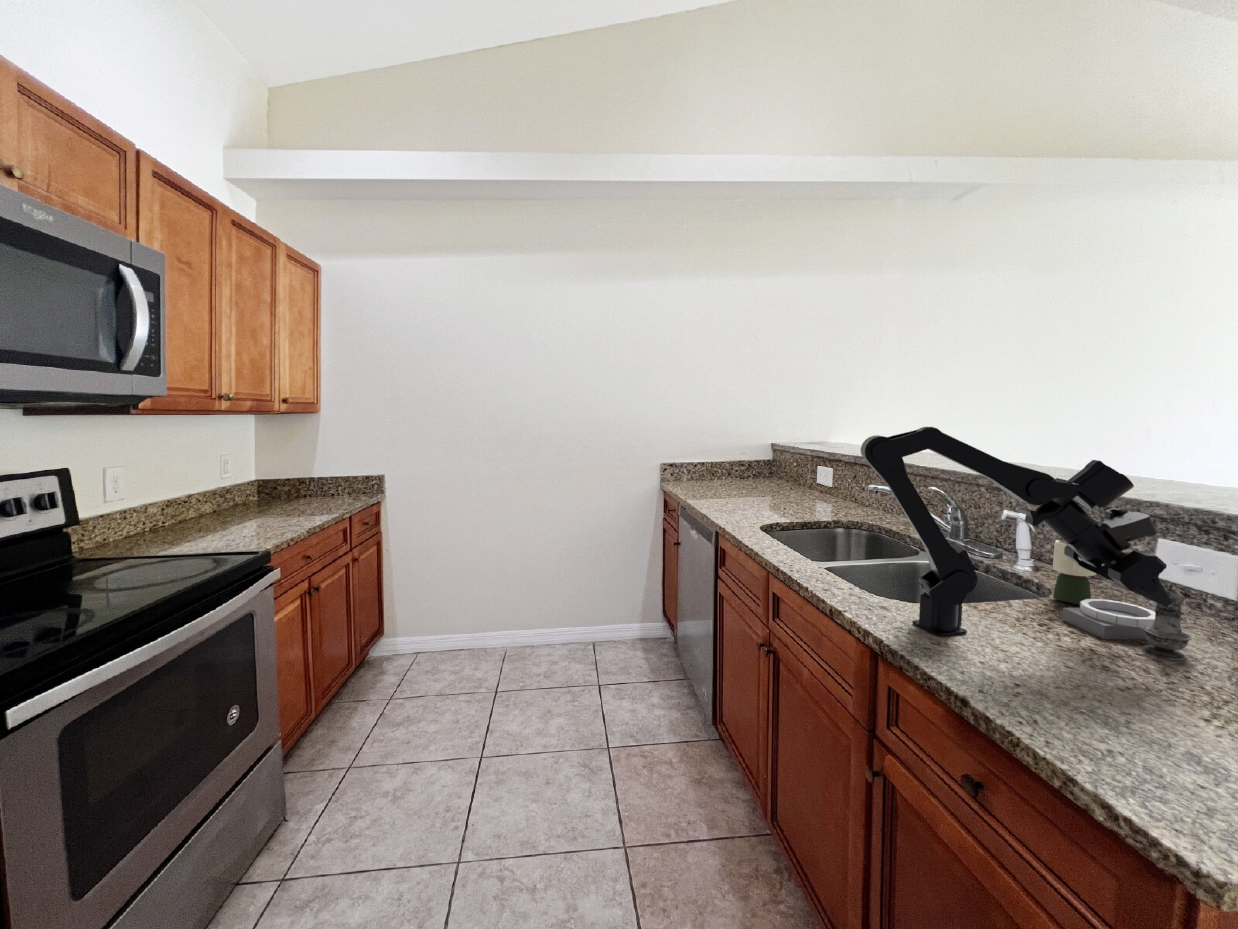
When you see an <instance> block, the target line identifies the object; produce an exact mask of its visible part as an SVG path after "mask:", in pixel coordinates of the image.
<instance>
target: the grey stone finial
mask: <svg viewBox="0 0 1238 929" xmlns="http://www.w3.org/2000/svg"><path fill="white" fill-rule="evenodd" d="M1174 587H1175V586H1174V585H1173V584H1172V583H1169V585H1168V587H1166V588H1164V589H1165V591H1166V593H1167V594H1168V596H1169V598H1170V599H1171V601H1172V604H1170V605H1169V606H1167V607H1166V606H1163V605H1161V604H1159V603H1156V606H1154V607H1153V611H1154V612H1155V621H1154V623H1153V625H1151V626H1144V627H1142V630H1143V631H1144V635H1145V638H1146V639H1145V640H1146V641H1147V642H1148V643H1149V644H1148V645H1143V646H1142V648H1141V649H1142V650H1143V651H1144V650H1145V651H1144V652H1146V653H1147V654H1150V655H1153V656H1155V657H1159V658H1163V659H1167V660H1172V661H1173V660H1174V661H1185V660H1187V659H1188V657H1187V655H1185V654H1184V653H1183V652H1182V651H1180V650H1183V649H1185V648H1186V647H1187V646H1188V644H1189V641H1191V640H1192V636H1191V635H1190V634H1188V633H1186V632H1184V631H1182V627H1181V617H1182V616H1183V615H1184V614H1185V612H1183V611H1182V602H1183V601H1182V600H1183V595H1182V593H1181V592H1180V591H1178V590H1176V589H1174Z"/></svg>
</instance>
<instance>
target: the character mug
mask: <svg viewBox="0 0 1238 929" xmlns="http://www.w3.org/2000/svg"><path fill="white" fill-rule="evenodd" d="M1066 546H1067V545H1065V544H1063V543H1062V542H1061V541H1060V540H1059V539H1056V540H1055V541H1054V548H1053V558H1052V560H1053V561H1052V569H1053V570H1054V571H1055V572H1058V573H1059V574H1058V575H1057V578H1056V582H1055V585H1054V590H1053V594H1052V597H1053V599H1055V600H1057V601H1061V602H1066V603H1070V605H1071V604H1072V606H1073V605H1075V604H1076V605H1079V606H1080V601H1083V600H1085V599H1092V593H1091V583H1090V579H1089V577H1093V576H1096V575H1097V574H1096V573H1094V572H1092V571H1090V570H1087V569H1085V568H1083V567H1081V566H1079V565H1078V564H1076V563H1074V562H1072V561H1071V560H1070V559H1069V558H1068V557H1067V556H1066V555H1065V554H1064V548H1065V547H1066ZM1078 559H1079V558H1078ZM1079 560H1080V559H1079ZM1080 561H1081V560H1080Z"/></svg>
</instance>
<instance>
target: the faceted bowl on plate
mask: <svg viewBox="0 0 1238 929" xmlns="http://www.w3.org/2000/svg"><path fill="white" fill-rule="evenodd" d="M1155 613H1156V611H1155V610H1151V609H1149V608H1146V607H1143V606H1141V605H1137V604H1132V603H1128V602H1125V601H1124V602H1123V601H1117V600H1110V599H1104V598H1103V599H1101V598H1091V599H1085V600H1083V601H1080V605H1079V607H1063V608H1062V618H1061V621H1063V622H1065V623H1067V624H1070V625H1071V626H1074V627H1076V628H1079V629H1081V630H1083V631H1085V632H1088V633H1089V634H1091V635H1094V636H1096V637H1098V638H1100V639H1102V640H1147V639H1146V638H1145V635H1144V631H1143V630H1142V627H1144V626H1151V625H1153V623H1154V621H1155Z"/></svg>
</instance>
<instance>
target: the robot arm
mask: <svg viewBox="0 0 1238 929" xmlns="http://www.w3.org/2000/svg"><path fill="white" fill-rule="evenodd" d="M927 450H929V451H931V452H933V453H935V454H937V455H940V456H941V457H944V458H946V459H947V460H949V461H951V462H954V463H956V464H958V465H960V466H962V467H964V468H966V469H969V470H970V471H971V472H975V473H977V474H979V475H981V476H983V477H985V478H986V479H988V480H989V481H990V482H992V483H993V484H994V485H996V487H998V488H999V489H1001V490H1002V491H1003V492H1004V493H1006V494H1008V495H1009V496H1011V497H1012V498H1013V499H1016V500H1019V501H1021V502H1024V503H1026V504H1029V505H1032V506H1037V507H1035V508H1026V509H1025V517H1024V522H1025V523H1026V524H1028V525H1031V526H1032V527H1037V526H1039V525H1040V524H1041V523H1044V524H1045V525H1046V526H1047V527H1048V529H1050V530H1051V531H1052V532H1054V534H1056V535H1057V536H1058V537H1059V538H1058V540H1060V541H1061V542H1062V543H1063V544H1065V545H1067V546H1066V547H1065V548H1064V554H1065V555H1066V556H1067V557H1068V558H1069V559H1070V560H1071V561H1072V562H1074V563H1076V564H1078V565H1079V566H1081V567H1083V568H1085V569H1087V570H1090V571H1092V572H1094V573H1096V575H1099V576H1101V577H1103V578H1106V579H1107V580H1110V581H1112V582H1114V583H1116V584H1118V586H1120V587H1121V588H1123V589H1126V590H1127V591H1129V592H1131V593H1134V594H1136V595H1139V596H1141V597H1144V598H1145V599H1148V600H1150V601H1152V602H1155V603H1156V604H1157V603H1159V604H1161V605H1163V606H1166V607H1167V606H1169V605H1170V604H1172V601H1171V599H1170V598H1169V596H1168V594H1167V593H1166V591H1165V589H1166V588H1165V587H1164V586H1163V584H1162V582H1161V580H1160V578H1159V577H1160V574H1162V573H1163V571H1165V570H1166V569H1167V564H1166V562H1164V561H1163V560H1162V559H1161V558H1160V557H1158V555H1155V554H1152V553H1149V552H1146V551H1145V550H1132V551H1130V552H1129V553H1125V552H1123V550H1124V551H1126V550H1128V549H1129V548H1131V547H1133V546H1132V544H1131V543H1130V542H1132V541H1136V540H1139V539H1143V538H1145V537H1153V536H1156V535H1157V534H1158V530H1157V528H1156V526H1155V524H1154V522H1153V520H1152V518H1151V516H1150V514H1146V513H1143V512H1138V511H1126V512H1125V511H1122V510H1121V509H1119V508H1115V507H1112V508H1109V509H1106V510H1105V511H1104V517H1103V519H1102V522H1100V521H1098V520H1096V519H1095V518H1094V517H1093V516H1091V514H1089V513H1088V512H1087V511H1086V510H1085V509H1084V508H1086V509H1088V510H1091V511H1092V509H1094V508H1096V509H1098V510H1104V509H1105V508H1107V507H1108V506H1110V505H1111V504H1112V503H1114V502H1116V500H1118V499H1119V498H1121V497H1123V495H1125V494H1126V493H1128V492H1129V491H1130V490H1132V489H1133V488H1135V485H1134V484H1133V482H1132V481H1131V479H1129V478H1128V477H1127V476H1126V475H1125V474H1123V473H1120V472H1118V471H1117V470H1116V469H1114V468H1112V467H1111V466H1109V465H1107V464H1105V463H1104V462H1103V461H1101V460H1097V459H1092V460H1091V461H1089V462H1088V463H1087V464H1086V465H1085V466H1084V467H1083V468H1082V469H1081V470H1079V471H1078V472H1077V473H1076V474H1074V475H1073V476H1072V477H1070V478H1069V479H1067V480H1066V479H1062V478H1059V477H1056V478H1055V477H1053V476H1052V475H1050V474H1049V473H1047V472H1046V473H1045V472H1042V471H1039V470H1036V469H1032V468H1028V467H1025V466H1021V465H1018V464H1015V463H1011V462H1007V461H1004V460H1002V459H1000V458H997V457H995V456H993V455H990V454H989V453H987V452H985V451H983V450H980V449H979V448H976V447H974V446H972V445H969V444H968V443H966V442H963V441H961V440H959V439H957V438H955V437H953V436H950V435H949V434H947V433H944V432H943V431H941V430H940V429H938V428H937V427H933V426H922V427H920V428H918V429H915V430H911V431H907V432H902V433H897V434H893V435H890V436H883V435H878V434H877V435H872V436H869V437H867V438H866V439H865V440H864V441H863V442H862V444H861V447H860V455H861V457H862V458H863V460H864V461H865V462H866V463H867V465H869V467H870V468H871V469H872V470H873V471H874V472H875V473H876V475H878V476H879V477H880V479H881V480H882V481H883V482H884V483H885V484H886V485H887V488H889V490H890V493H892V495H893V497H894V498H895V500H896V502H897V504H898V505H899V507H900V508H901V510H902V512H903V513H904V515H905V517H906V518H907V520H908V521H909V523H910V525H911V527H912V528H913V530H914V532H915V533H916V535H917V536H918V537H917V538H918V539H919V540H920V542H921V543H922V545H923V547H924V549H925V553H926V557H927V560H928V564H929V566H930V569H929V570H928V571H927V572H925V573H924V574H923V575H921V576H919V578H918V581H919V584H920V588H921V589H922V590H923V591H924V592H923V594H920V595H919V612H918V614H919V615H918V617H919V618H918V619H917V620H915V619H913V620H912V622H911V623H912V624H913V625H915V626H917V627H919V628H921V629H923V630H925V631H927V632H929V633H932V634H933V635H935V636H938V637H945V636H954V635H960V634H967V633H968V631H967V629H964V628H963V627H962V616H963V603H964V601H965V599H966V598H967V595H968V594H969V593H971V592H973V590H975V589H976V587H977V584H978V583H979V578H978V575H977V572H978V571H979V568H978V567H977V566H975V565H974V563H973V562H972V560H971V559H970V558H971V557H970V556H969V555H970V554H969V553H968V551H967V549H966V548H964V547H963V546H961V545H960V544H959V543H958V542H955V543H953V544H950V543H949V541H948V540H947V538H946V537H945V534H943V532H942V530H941V529H940V527H939V525H938V523H937V522H936V520H935V518H934V517H933V515H932V514H931V512H930V511H929V509H928V507H927V506H926V504H925V503H924V502H925V501H924V500H923V499H922V497H921V496H920V494H919V493H918V492H919V491H917V489H916V487H915V486H914V484H913V483H912V481H911V479H910V477H909V475H908V472H907V468H906V465H905V460H904V457H908V456H911V455H914V454H917V453H920V452H923V451H927ZM1078 503H1079V504H1078ZM1082 506H1083V507H1084V508H1083V507H1082ZM1078 558H1079V559H1080V560H1081V561H1080V560H1079V559H1078Z"/></svg>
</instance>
